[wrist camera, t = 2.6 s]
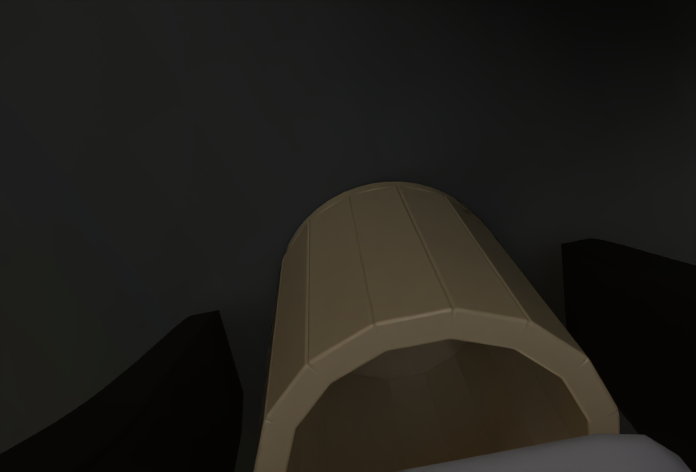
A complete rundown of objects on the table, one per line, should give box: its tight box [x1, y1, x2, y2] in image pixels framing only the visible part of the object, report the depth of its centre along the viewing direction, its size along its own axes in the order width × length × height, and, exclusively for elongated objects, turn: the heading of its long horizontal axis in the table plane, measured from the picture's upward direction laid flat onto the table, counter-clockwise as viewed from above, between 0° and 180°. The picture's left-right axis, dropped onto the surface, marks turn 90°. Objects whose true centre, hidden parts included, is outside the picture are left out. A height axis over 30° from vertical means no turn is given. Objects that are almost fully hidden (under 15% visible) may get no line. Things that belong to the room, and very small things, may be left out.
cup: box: [253, 182, 620, 472], centre depth 11 cm, size 5×5×6 cm
